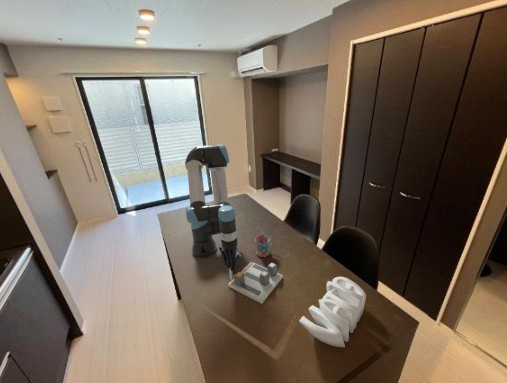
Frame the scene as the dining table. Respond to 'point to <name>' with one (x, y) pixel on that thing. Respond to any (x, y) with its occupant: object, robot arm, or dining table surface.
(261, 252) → the mug
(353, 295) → the wavy white extrusion
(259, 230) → the dining table surface
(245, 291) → the panel
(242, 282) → the block
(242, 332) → the dining table surface
